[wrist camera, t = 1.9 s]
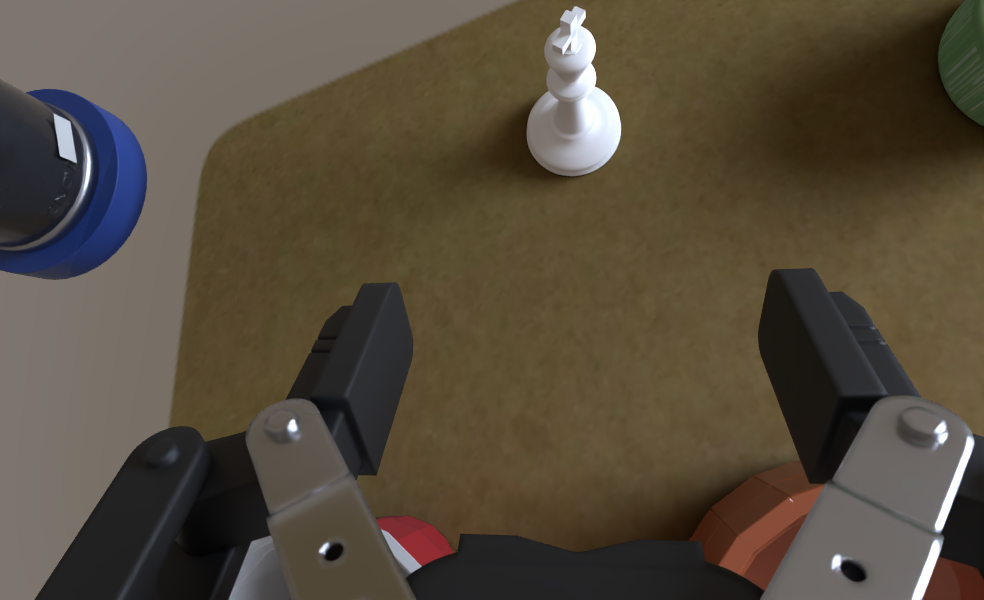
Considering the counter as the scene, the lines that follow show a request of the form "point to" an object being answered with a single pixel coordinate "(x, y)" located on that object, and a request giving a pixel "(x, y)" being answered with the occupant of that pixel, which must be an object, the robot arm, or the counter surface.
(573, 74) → the chess piece
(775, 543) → the bowl
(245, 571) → the plastic cup
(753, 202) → the counter surface
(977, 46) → the ramekin
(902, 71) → the counter surface
